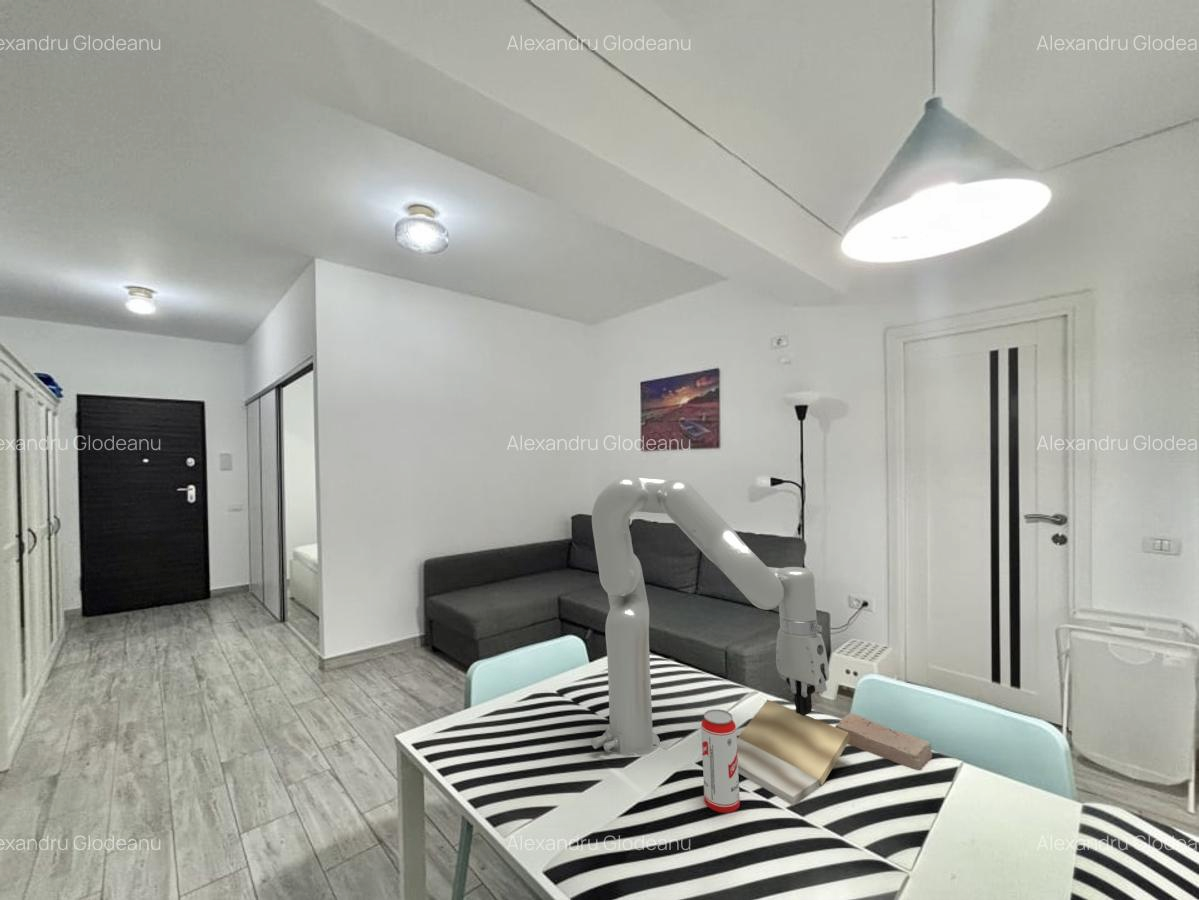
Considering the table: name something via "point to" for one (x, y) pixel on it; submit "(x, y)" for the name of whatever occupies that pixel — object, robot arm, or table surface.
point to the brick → (886, 742)
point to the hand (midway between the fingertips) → (803, 712)
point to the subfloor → (774, 773)
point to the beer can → (720, 761)
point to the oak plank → (796, 739)
